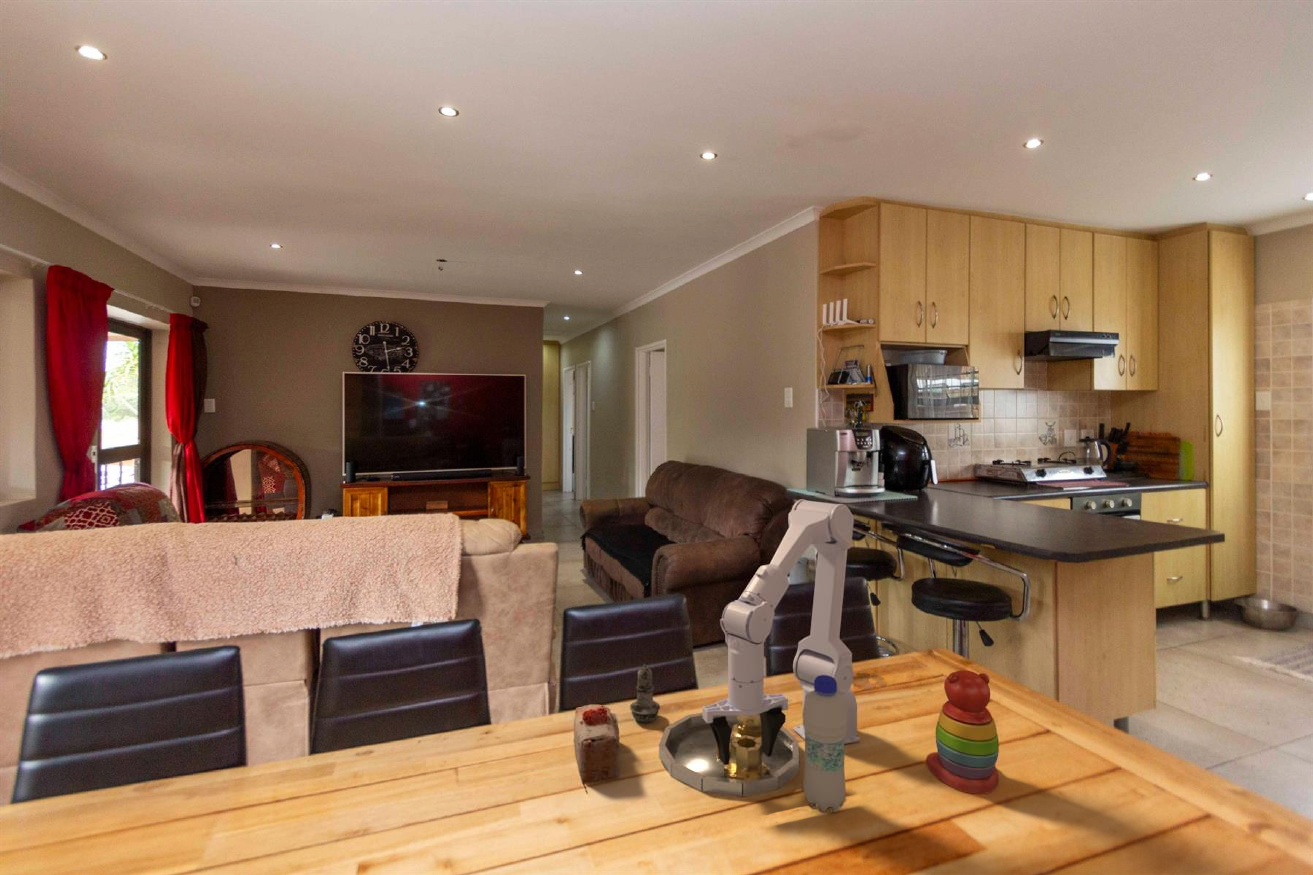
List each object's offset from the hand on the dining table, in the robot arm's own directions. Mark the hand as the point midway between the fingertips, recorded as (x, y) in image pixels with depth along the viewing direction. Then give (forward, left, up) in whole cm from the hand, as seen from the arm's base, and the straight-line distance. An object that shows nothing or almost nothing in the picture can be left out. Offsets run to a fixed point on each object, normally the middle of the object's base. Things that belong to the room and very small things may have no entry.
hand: (745, 757), depth 104 cm
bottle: (-9, +9, -4) cm, 13 cm away
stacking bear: (-35, +10, -4) cm, 37 cm away
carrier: (0, -6, -4) cm, 8 cm away
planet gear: (0, 0, -3) cm, 3 cm away
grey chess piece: (+10, -24, -4) cm, 26 cm away
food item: (+22, -12, -4) cm, 26 cm away
